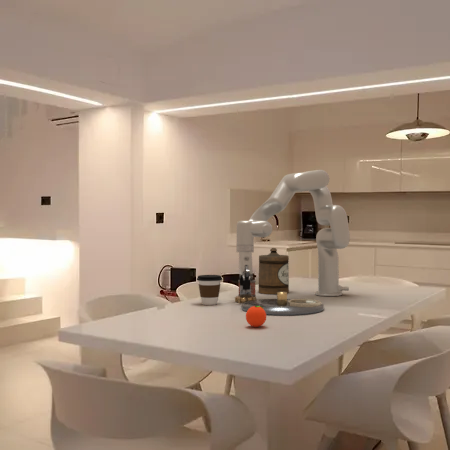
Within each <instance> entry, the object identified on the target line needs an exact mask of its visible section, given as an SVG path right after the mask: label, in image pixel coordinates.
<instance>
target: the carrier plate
mask: <svg viewBox="0 0 450 450" xmlns="http://www.w3.org/2000/svg"><path fill="white" fill-rule="evenodd" d="M253 306H262V307H263V309H264V311H265V313H266V316H273V317H274V316H277V317H278V316H280V317H282V316H283V317H284V316H286V317H287V316H289V317H290V316H291V317H292V316H306V315H307V316H308V315H314V314H318V313H322V312H324V309H325V306H324V304H323V303H322V301H320V300H319V299H309V298H288V293H287V292H277V295H276V298H270V299H269V298H267V299H266V298H264V299H256V300H253V301H248V302H244V303H240V310H241V311H243V312H246V313H247V311H248V309H249V308H251V307H253Z"/></svg>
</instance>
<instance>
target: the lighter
mask: <svg viewBox="0 0 450 450" xmlns="http://www.w3.org/2000/svg"><path fill="white" fill-rule="evenodd" d="M256 283H257V281H256V280H255V279H254V276H253V275H250V285H251V296H253V297H256V298H257V296H256ZM237 296H240V279H238V295H237Z"/></svg>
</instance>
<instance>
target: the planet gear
mask: <svg viewBox="0 0 450 450" xmlns="http://www.w3.org/2000/svg"><path fill="white" fill-rule="evenodd" d="M253 300H257V296H256V297H253V296H251V285H250V290H243V285H240V296H238V295H237V296H235V297H234V303H238V304H242V303H244V302H248V301H253Z"/></svg>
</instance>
